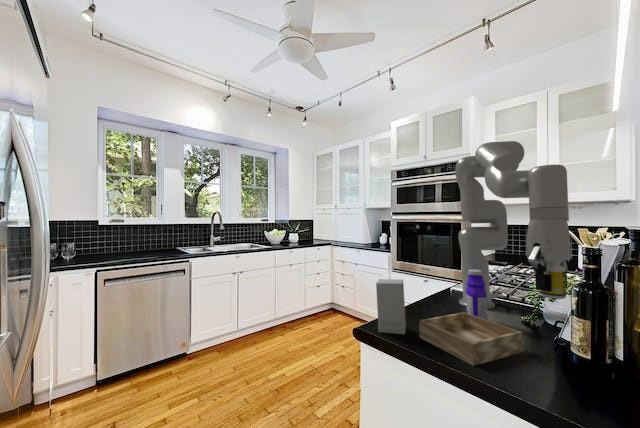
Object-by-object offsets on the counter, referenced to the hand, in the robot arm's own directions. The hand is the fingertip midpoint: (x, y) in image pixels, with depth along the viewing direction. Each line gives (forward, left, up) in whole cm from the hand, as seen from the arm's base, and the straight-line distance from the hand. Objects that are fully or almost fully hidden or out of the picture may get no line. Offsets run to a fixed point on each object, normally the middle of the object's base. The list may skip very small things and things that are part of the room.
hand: (551, 288), depth 69 cm
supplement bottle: (0, 0, -2) cm, 2 cm away
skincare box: (+25, -31, -17) cm, 44 cm away
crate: (+12, -14, -17) cm, 25 cm away
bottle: (-5, -25, -17) cm, 31 cm away
